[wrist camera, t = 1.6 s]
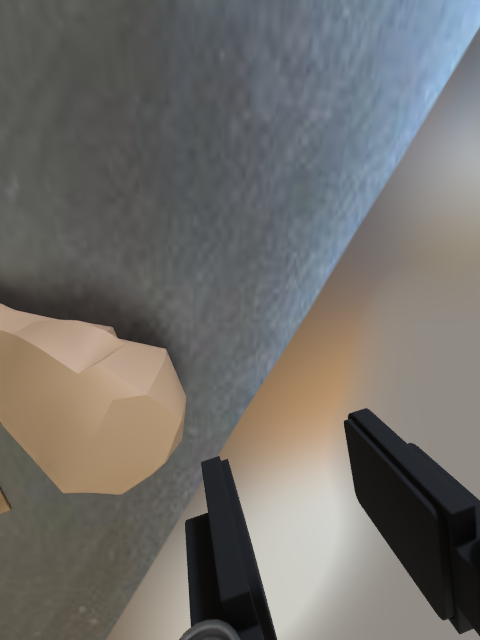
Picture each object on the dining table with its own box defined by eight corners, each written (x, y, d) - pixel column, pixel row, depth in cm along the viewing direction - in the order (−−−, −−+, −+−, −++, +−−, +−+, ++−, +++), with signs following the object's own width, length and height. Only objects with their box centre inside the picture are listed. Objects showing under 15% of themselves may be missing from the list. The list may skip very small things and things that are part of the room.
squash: (156, 457, 31) (124, 556, 22) (-73, 344, 28) (-213, 410, 19) (220, 361, 28) (210, 433, 19) (-29, 221, 25) (-172, 234, 16)
